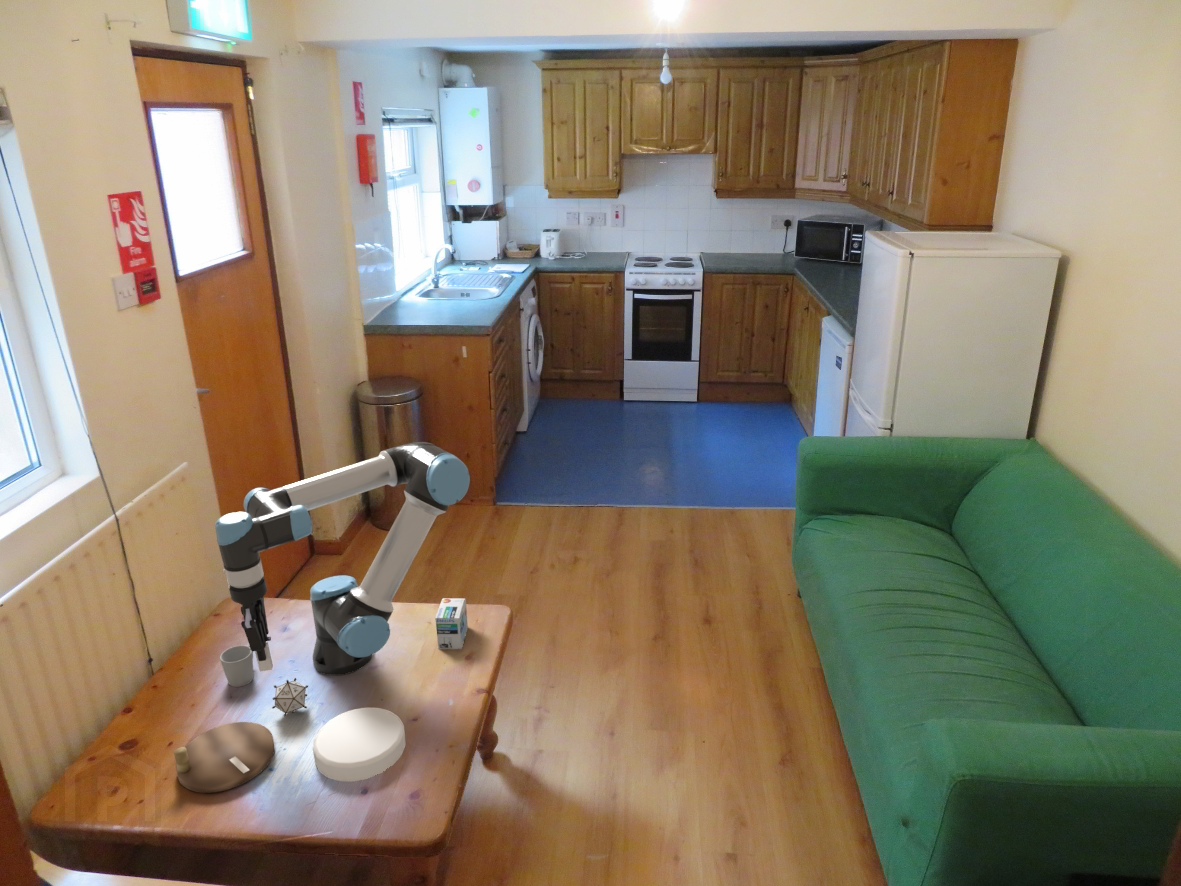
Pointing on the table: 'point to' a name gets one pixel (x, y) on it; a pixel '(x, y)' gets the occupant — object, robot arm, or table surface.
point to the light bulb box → (451, 623)
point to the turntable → (224, 757)
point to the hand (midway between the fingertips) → (266, 668)
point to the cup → (238, 665)
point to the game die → (290, 697)
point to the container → (359, 744)
